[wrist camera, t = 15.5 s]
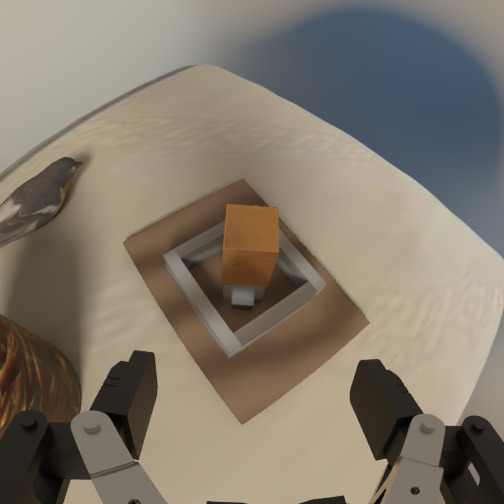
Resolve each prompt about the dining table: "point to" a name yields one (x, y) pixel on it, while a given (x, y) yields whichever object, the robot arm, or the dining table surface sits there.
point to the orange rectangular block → (248, 253)
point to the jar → (34, 377)
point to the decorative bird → (36, 200)
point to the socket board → (243, 320)
